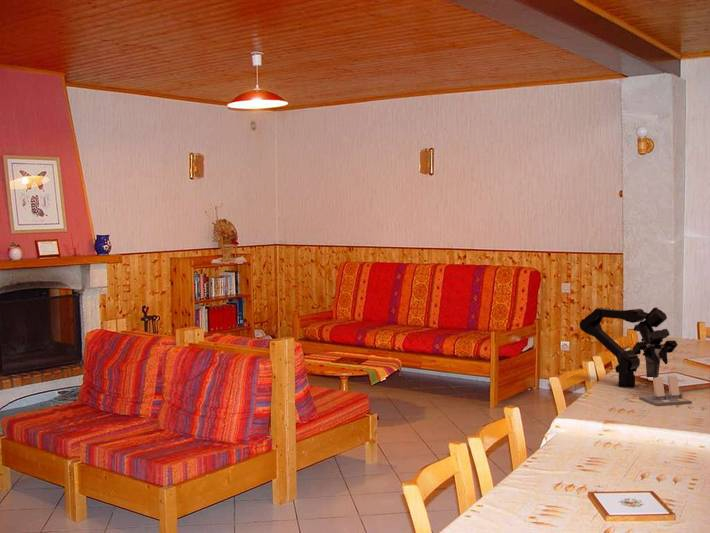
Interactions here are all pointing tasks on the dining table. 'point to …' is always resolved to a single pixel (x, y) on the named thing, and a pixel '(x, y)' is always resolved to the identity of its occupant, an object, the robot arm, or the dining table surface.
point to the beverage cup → (652, 366)
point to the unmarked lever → (658, 387)
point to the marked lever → (673, 386)
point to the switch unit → (665, 400)
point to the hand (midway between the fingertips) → (662, 363)
